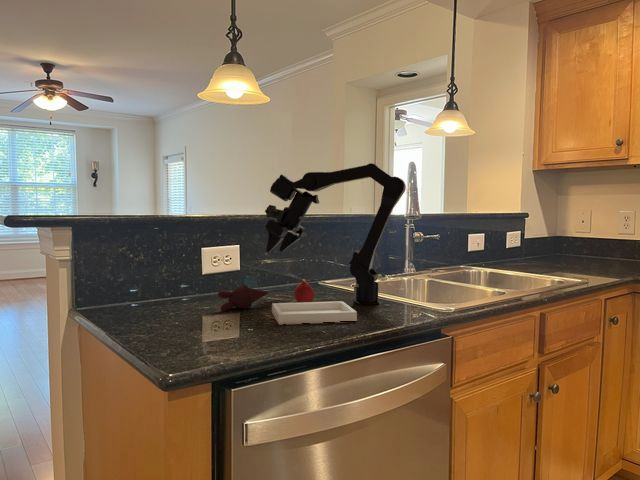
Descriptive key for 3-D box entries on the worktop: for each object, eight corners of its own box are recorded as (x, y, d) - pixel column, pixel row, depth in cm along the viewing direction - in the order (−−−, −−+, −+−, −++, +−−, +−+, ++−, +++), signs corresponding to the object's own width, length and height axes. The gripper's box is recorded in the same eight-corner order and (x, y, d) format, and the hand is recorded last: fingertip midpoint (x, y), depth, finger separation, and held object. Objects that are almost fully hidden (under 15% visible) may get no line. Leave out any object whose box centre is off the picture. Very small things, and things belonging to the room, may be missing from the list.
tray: (342, 310, 133) (342, 301, 133) (356, 321, 121) (356, 312, 120) (271, 312, 129) (272, 303, 128) (278, 324, 116) (279, 314, 116)
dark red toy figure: (260, 281, 140) (212, 290, 132) (271, 278, 134) (221, 288, 126) (264, 304, 140) (216, 314, 132) (276, 303, 134) (226, 313, 125)
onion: (316, 305, 138) (317, 278, 137) (309, 309, 133) (310, 281, 132) (298, 304, 140) (298, 277, 139) (290, 308, 134) (291, 280, 134)
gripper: (290, 198, 158) (268, 238, 161) (263, 193, 141) (239, 238, 144) (316, 215, 155) (293, 255, 158) (292, 212, 137) (267, 257, 140)
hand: (274, 251), depth 150 cm, fingers open, 9 cm apart
